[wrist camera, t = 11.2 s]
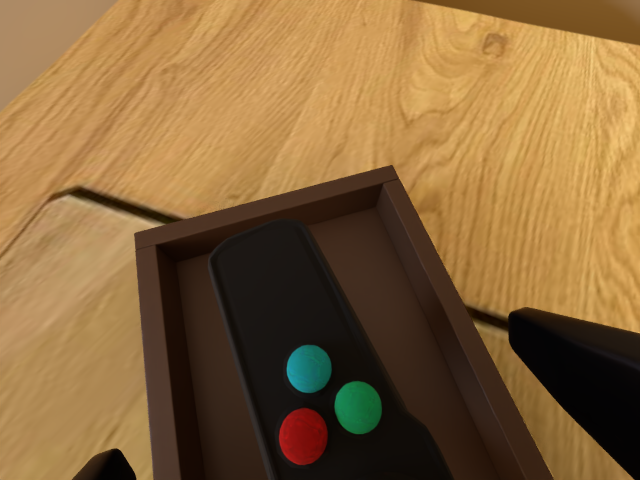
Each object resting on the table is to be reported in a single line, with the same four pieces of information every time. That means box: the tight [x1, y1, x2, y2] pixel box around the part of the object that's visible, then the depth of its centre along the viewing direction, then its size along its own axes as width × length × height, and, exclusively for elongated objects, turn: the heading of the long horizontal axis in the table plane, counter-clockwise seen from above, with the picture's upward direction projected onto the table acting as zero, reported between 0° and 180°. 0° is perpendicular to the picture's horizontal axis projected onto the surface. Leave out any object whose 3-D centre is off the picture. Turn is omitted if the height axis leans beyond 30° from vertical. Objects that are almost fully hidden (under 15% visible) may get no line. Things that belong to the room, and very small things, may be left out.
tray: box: [134, 165, 554, 480], centre depth 14 cm, size 20×14×3 cm
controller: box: [208, 218, 454, 480], centre depth 11 cm, size 4×12×10 cm, turn 25°
